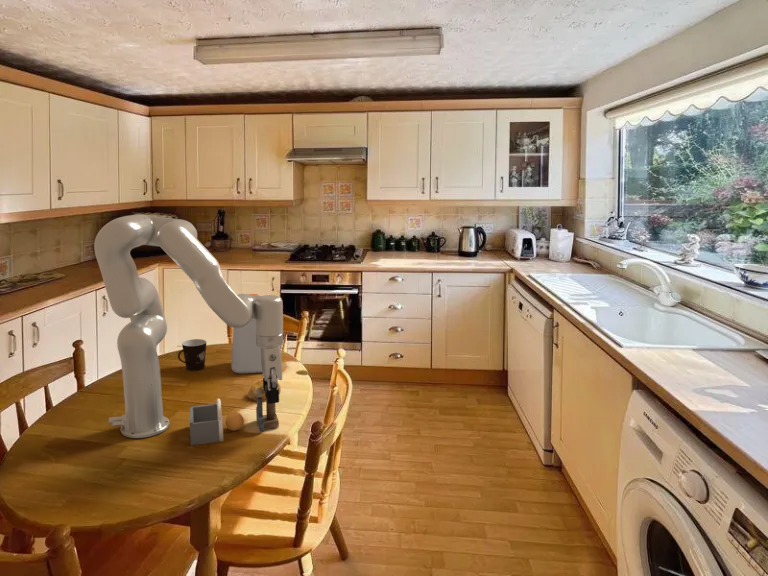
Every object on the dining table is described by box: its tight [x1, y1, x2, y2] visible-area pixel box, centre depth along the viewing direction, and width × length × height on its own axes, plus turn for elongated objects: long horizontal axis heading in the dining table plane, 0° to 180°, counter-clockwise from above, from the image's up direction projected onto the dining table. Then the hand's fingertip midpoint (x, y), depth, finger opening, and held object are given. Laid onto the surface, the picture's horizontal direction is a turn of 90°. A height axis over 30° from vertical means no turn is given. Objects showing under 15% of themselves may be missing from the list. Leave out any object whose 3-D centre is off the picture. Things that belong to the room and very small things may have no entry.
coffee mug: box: [177, 338, 207, 372], centre depth 194 cm, size 12×9×10 cm
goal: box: [189, 397, 224, 446], centre depth 146 cm, size 8×12×8 cm
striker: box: [254, 384, 280, 433], centre depth 151 cm, size 6×8×12 cm
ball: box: [225, 412, 245, 432], centre depth 149 cm, size 5×5×5 cm
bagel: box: [246, 378, 282, 402], centre depth 173 cm, size 10×11×5 cm
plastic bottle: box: [231, 293, 263, 374], centre depth 196 cm, size 15×15×28 cm
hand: (271, 396), depth 151 cm, fingers open, 8 cm apart
